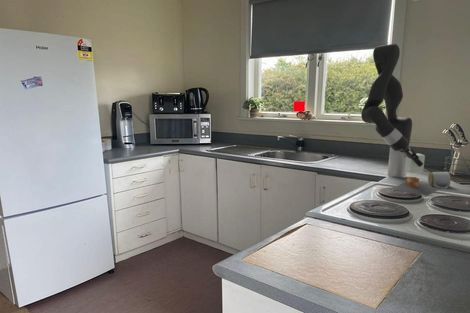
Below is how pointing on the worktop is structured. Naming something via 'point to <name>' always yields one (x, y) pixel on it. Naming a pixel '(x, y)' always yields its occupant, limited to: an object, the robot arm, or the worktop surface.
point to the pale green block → (414, 164)
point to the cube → (412, 182)
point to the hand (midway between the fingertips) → (418, 164)
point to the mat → (416, 189)
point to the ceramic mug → (439, 179)
